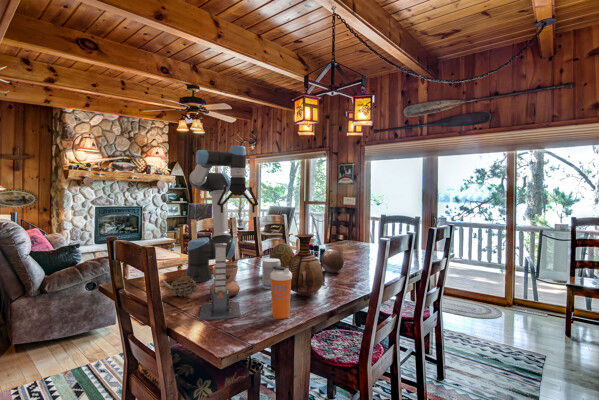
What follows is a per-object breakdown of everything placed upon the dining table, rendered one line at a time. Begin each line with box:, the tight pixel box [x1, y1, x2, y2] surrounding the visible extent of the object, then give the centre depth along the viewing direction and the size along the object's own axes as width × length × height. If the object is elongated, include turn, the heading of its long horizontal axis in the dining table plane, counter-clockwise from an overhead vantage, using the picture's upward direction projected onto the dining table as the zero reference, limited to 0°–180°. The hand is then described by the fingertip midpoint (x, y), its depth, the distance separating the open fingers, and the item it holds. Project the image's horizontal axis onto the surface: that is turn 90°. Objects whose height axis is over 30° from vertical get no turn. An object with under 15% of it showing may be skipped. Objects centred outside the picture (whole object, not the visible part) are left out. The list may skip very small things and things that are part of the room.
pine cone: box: [162, 276, 198, 298], centre depth 159 cm, size 22×10×10 cm, turn 67°
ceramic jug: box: [208, 263, 241, 298], centre depth 161 cm, size 18×14×14 cm
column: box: [214, 243, 227, 293], centre depth 137 cm, size 5×5×20 cm
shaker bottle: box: [270, 266, 292, 320], centre depth 134 cm, size 9×9×20 cm
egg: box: [268, 242, 296, 267], centre depth 199 cm, size 16×16×20 cm
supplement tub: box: [261, 257, 280, 291], centre depth 174 cm, size 10×10×15 cm
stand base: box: [198, 289, 242, 321], centre depth 138 cm, size 16×16×9 cm
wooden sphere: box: [320, 248, 345, 274], centre depth 208 cm, size 15×15×15 cm
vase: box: [288, 233, 324, 297], centre depth 160 cm, size 21×18×30 cm
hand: (237, 219), depth 164 cm, fingers open, 13 cm apart
